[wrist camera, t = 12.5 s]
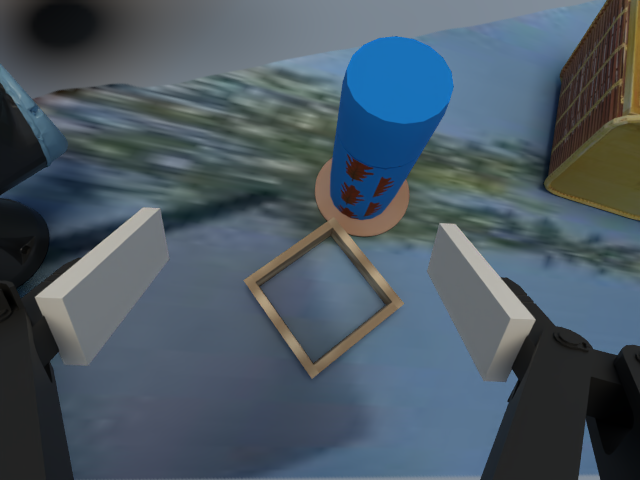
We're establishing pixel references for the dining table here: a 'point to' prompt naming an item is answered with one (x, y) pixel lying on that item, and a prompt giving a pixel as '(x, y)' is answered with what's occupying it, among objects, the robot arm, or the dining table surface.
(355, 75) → the thermos
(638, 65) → the picnic basket
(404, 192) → the saucer
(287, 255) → the square frame
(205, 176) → the dining table surface
